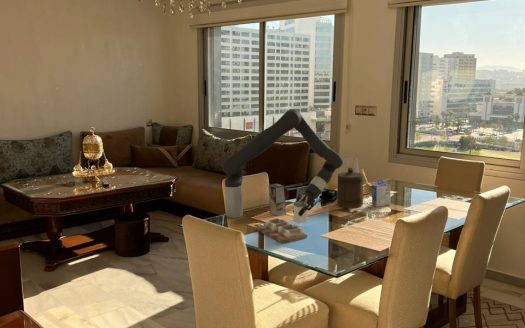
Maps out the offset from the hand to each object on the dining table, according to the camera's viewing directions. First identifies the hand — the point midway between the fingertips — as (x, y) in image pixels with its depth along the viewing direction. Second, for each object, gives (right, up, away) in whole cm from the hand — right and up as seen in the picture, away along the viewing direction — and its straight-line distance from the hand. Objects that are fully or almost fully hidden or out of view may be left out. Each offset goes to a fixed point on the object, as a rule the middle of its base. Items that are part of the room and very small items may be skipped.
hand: (296, 213), depth 242 cm
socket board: (-8, -9, -6) cm, 14 cm away
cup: (+7, 0, +42) cm, 42 cm away
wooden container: (+34, +1, +41) cm, 54 cm away
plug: (+2, -4, +2) cm, 5 cm away
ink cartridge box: (+52, +1, +39) cm, 65 cm away
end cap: (+23, +3, +52) cm, 57 cm away
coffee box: (-9, -3, +28) cm, 29 cm away
